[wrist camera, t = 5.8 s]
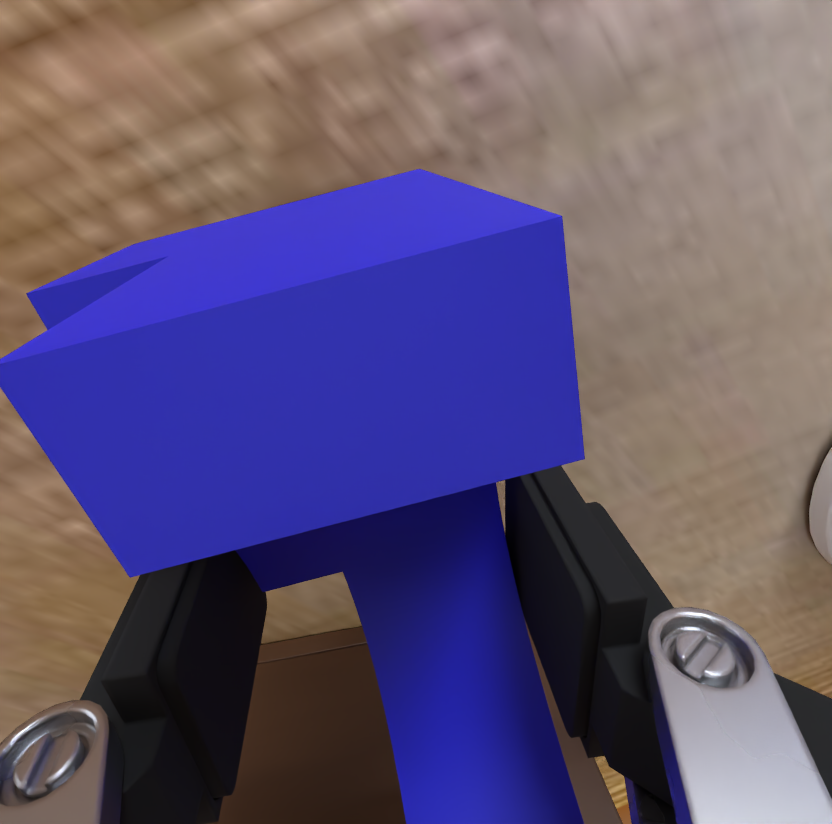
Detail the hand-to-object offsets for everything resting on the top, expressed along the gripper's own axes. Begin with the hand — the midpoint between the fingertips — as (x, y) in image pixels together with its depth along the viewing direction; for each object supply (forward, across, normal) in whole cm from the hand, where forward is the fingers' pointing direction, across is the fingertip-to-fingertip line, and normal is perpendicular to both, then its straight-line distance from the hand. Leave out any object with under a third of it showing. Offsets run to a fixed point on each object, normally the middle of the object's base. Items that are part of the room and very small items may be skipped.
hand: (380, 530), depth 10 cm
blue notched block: (+1, 0, 0) cm, 1 cm away
